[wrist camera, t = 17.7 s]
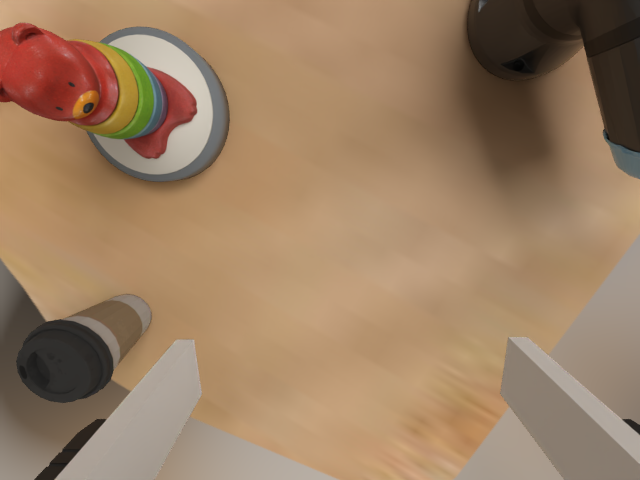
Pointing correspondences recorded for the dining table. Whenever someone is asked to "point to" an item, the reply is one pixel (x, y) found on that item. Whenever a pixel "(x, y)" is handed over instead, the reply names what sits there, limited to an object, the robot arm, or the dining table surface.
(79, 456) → the robot arm
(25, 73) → the stacking bear
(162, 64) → the pedestal
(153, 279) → the dining table surface
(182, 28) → the dining table surface
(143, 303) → the coffee cup
